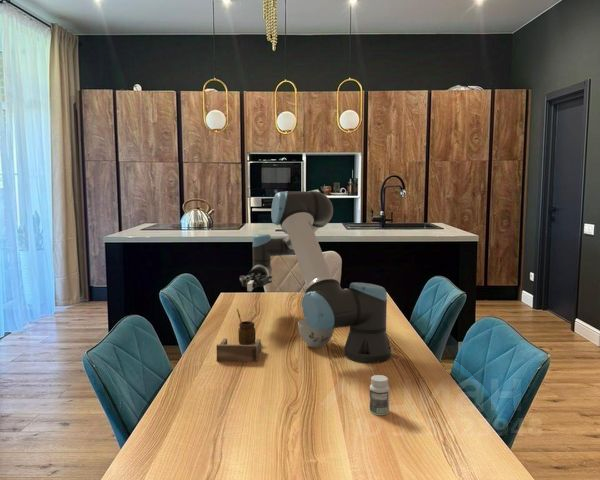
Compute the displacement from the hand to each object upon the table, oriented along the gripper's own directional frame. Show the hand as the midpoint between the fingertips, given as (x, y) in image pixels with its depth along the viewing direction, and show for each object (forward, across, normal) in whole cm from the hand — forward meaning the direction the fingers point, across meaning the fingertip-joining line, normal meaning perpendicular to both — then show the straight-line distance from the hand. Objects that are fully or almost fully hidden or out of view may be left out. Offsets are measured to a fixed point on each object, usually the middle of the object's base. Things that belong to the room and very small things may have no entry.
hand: (249, 287), depth 183 cm
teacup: (+8, -25, -18) cm, 32 cm away
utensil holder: (+8, 0, -18) cm, 20 cm away
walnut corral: (+21, 0, -18) cm, 27 cm away
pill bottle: (+60, -41, -18) cm, 75 cm away
